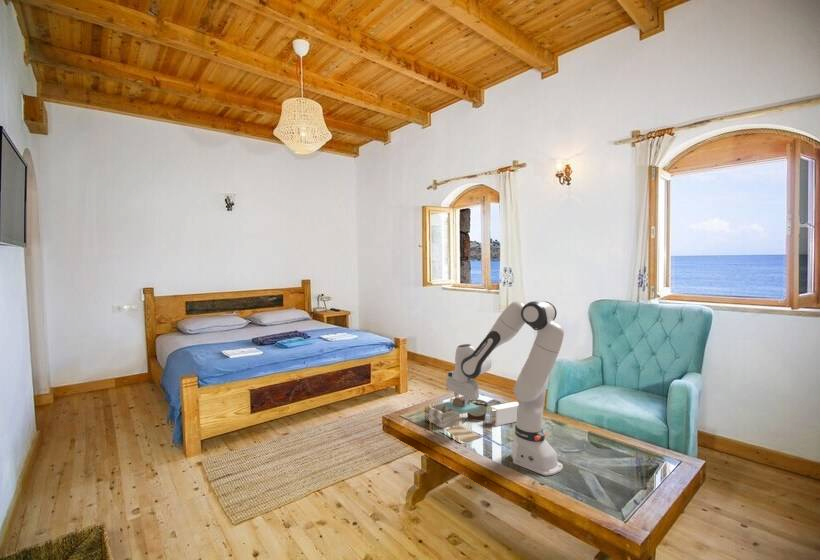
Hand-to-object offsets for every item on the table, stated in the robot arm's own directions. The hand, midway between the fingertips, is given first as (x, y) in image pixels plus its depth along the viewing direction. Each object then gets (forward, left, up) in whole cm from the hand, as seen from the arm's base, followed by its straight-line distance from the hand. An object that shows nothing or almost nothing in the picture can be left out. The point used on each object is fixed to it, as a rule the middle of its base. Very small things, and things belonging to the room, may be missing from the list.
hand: (461, 402), depth 202 cm
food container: (+11, -23, -17) cm, 30 cm away
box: (+16, -3, -17) cm, 23 cm away
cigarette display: (-2, -33, -17) cm, 37 cm away
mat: (0, 0, -17) cm, 17 cm away
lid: (0, 0, -3) cm, 3 cm away
